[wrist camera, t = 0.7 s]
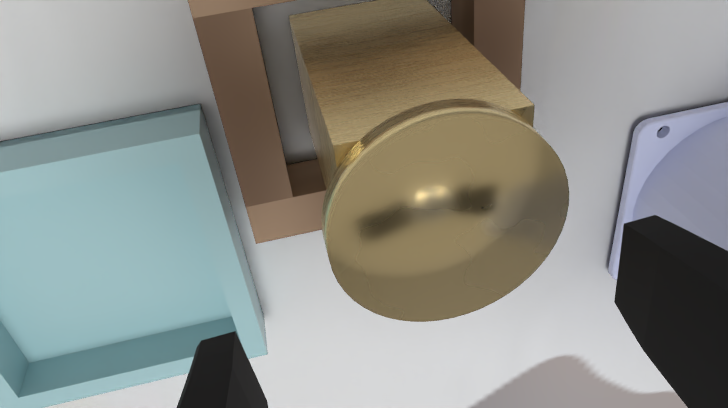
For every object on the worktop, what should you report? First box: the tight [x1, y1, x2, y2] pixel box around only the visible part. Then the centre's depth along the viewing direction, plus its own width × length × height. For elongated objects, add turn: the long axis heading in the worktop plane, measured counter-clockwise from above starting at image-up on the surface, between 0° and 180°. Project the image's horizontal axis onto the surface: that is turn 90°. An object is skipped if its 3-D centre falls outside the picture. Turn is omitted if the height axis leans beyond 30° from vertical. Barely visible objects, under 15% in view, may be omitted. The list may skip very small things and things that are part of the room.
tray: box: [0, 104, 268, 408], centre depth 20 cm, size 10×10×2 cm
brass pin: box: [289, 0, 569, 322], centre depth 15 cm, size 5×5×9 cm
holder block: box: [188, 0, 525, 244], centre depth 18 cm, size 9×9×2 cm
